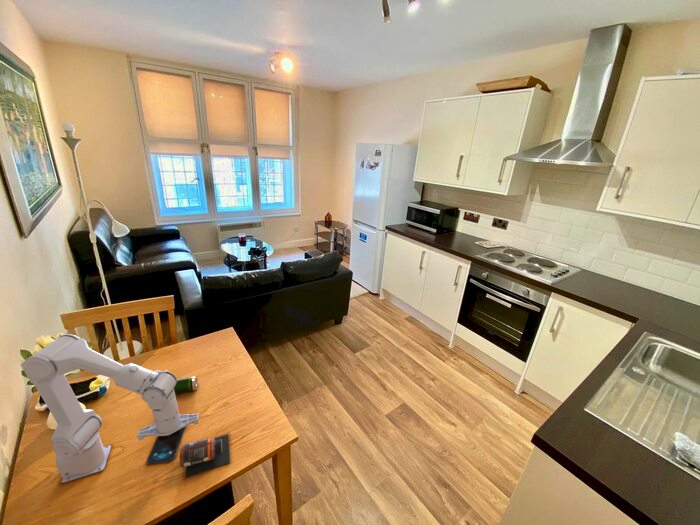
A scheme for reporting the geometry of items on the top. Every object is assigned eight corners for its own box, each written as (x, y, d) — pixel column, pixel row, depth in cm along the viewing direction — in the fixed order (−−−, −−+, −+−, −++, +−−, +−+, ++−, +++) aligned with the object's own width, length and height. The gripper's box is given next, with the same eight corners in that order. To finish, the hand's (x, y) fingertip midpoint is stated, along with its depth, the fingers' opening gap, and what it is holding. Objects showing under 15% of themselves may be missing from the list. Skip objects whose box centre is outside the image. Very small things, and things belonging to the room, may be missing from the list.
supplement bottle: (179, 473, 83) (221, 461, 87) (178, 453, 83) (220, 442, 87) (183, 459, 89) (223, 449, 93) (182, 440, 89) (222, 431, 93)
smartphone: (145, 463, 86) (165, 419, 100) (145, 464, 87) (165, 420, 100) (173, 459, 88) (189, 416, 101) (173, 460, 88) (189, 417, 102)
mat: (185, 478, 84) (185, 477, 84) (188, 447, 92) (188, 446, 92) (229, 462, 89) (229, 462, 89) (228, 434, 97) (228, 434, 97)
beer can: (160, 400, 107) (196, 393, 111) (158, 388, 106) (194, 381, 110) (163, 391, 112) (197, 384, 116) (161, 379, 111) (196, 373, 115)
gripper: (196, 394, 85) (202, 426, 90) (137, 409, 79) (147, 442, 84) (195, 413, 79) (201, 446, 84) (131, 430, 73) (142, 465, 79)
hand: (174, 446), depth 84 cm, fingers closed
